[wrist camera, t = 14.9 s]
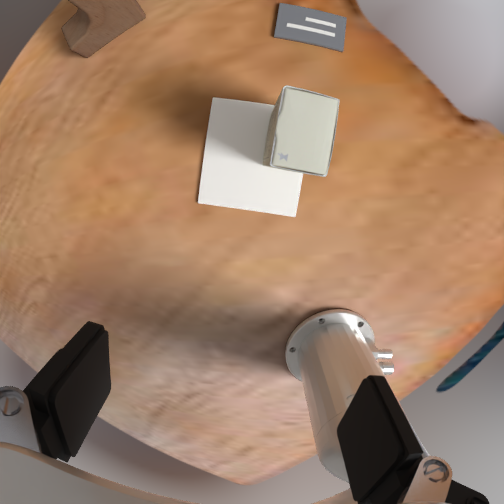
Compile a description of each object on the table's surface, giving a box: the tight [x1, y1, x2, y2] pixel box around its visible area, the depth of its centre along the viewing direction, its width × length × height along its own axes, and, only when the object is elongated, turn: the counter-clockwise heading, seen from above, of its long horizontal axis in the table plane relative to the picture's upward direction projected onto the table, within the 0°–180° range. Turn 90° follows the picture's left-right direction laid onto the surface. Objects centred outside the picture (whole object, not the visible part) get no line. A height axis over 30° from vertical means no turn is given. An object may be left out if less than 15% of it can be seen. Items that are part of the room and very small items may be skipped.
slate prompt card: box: [274, 3, 346, 52], centre depth 27 cm, size 8×5×1 cm, turn 81°
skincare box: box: [262, 86, 339, 177], centre depth 26 cm, size 6×4×12 cm
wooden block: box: [62, 0, 146, 58], centre depth 18 cm, size 9×4×18 cm, turn 119°
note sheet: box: [198, 97, 303, 217], centre depth 32 cm, size 11×12×1 cm
